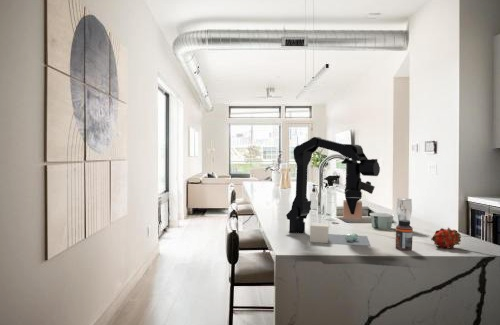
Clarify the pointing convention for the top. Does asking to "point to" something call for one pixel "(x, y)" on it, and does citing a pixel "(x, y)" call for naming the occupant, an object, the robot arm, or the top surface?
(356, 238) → the marble
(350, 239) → the marble
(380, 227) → the food container
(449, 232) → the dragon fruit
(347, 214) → the salmon pink cube
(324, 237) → the ivory rectangular chunk
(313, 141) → the robot arm
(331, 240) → the mat
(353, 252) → the top surface
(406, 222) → the supplement bottle
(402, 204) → the beer glass
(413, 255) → the top surface
